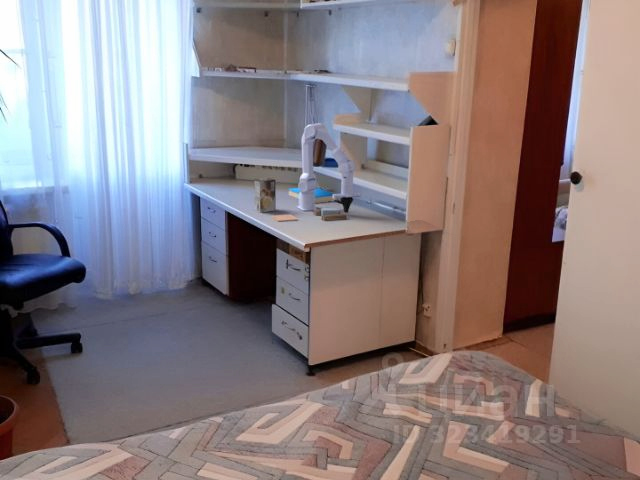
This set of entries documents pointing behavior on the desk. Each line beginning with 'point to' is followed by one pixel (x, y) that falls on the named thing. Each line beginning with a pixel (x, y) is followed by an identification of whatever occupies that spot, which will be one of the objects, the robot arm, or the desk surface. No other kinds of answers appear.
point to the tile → (284, 218)
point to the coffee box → (265, 194)
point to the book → (319, 195)
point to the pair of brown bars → (330, 216)
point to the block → (329, 211)
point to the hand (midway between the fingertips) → (346, 212)
